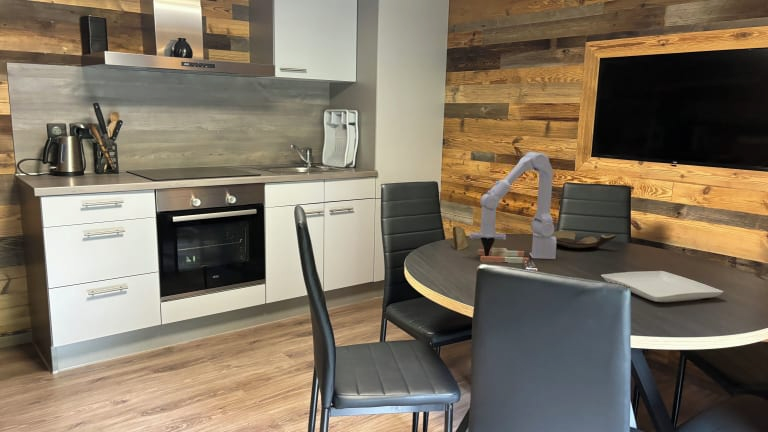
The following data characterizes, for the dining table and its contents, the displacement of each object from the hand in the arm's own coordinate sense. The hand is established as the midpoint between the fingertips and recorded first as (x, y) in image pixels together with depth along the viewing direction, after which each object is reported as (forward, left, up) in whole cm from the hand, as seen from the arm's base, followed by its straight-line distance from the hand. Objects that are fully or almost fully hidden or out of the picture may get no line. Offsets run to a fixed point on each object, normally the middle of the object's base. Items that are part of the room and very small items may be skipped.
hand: (486, 255), depth 231 cm
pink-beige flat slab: (-7, 0, -1) cm, 7 cm away
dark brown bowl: (-43, -27, -1) cm, 51 cm away
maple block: (-5, 0, -1) cm, 5 cm away
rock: (+9, -18, -1) cm, 20 cm away
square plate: (-54, +38, -2) cm, 66 cm away
